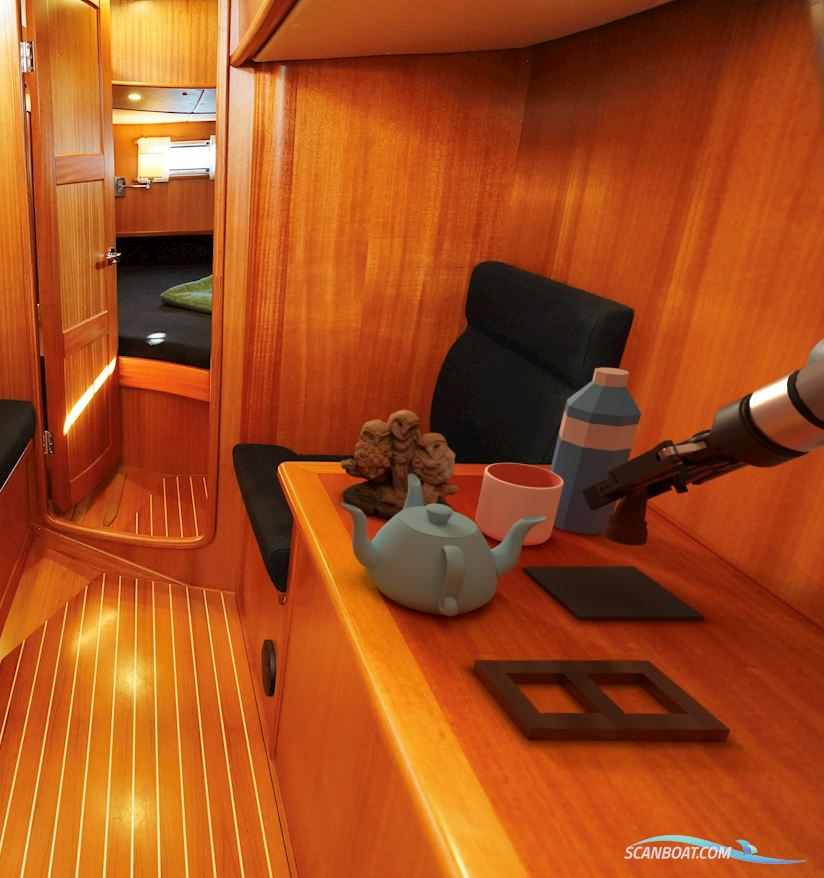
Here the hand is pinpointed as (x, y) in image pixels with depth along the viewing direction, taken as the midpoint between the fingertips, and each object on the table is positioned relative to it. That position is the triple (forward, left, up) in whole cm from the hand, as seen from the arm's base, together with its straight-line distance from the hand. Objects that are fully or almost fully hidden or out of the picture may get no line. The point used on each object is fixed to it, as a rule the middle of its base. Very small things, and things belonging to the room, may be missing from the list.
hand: (606, 498), depth 93 cm
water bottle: (-10, -17, -13) cm, 23 cm away
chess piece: (-1, +4, -4) cm, 5 cm away
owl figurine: (+16, -23, -13) cm, 31 cm away
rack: (+15, +25, -12) cm, 32 cm away
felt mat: (-1, +4, -12) cm, 13 cm away
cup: (+2, -13, -13) cm, 18 cm away
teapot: (+22, +1, -13) cm, 25 cm away
